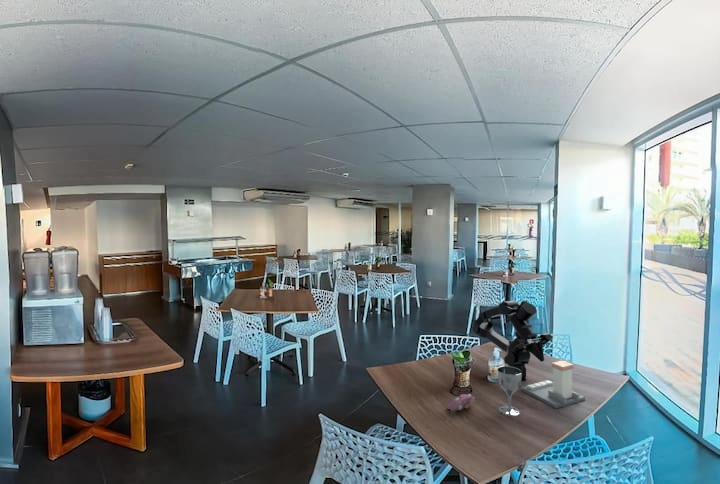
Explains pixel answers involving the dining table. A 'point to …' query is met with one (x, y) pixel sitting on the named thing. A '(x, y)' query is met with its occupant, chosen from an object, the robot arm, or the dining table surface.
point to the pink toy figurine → (461, 402)
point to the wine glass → (509, 386)
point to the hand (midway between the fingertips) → (542, 361)
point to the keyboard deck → (551, 394)
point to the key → (562, 378)
